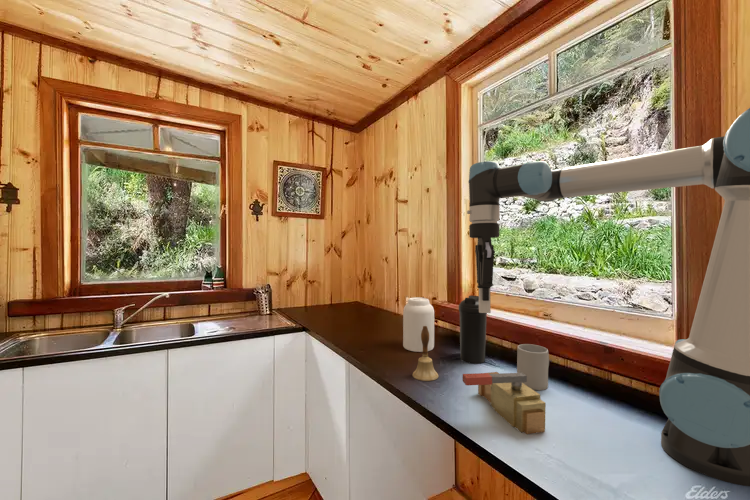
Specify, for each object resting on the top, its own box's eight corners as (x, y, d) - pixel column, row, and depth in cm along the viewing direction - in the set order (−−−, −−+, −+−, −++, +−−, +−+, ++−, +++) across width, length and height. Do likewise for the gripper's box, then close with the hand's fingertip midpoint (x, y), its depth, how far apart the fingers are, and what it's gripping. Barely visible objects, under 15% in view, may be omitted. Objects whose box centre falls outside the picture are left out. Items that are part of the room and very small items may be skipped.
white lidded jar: (426, 354, 125) (426, 302, 124) (397, 349, 131) (397, 299, 131) (438, 346, 135) (439, 297, 135) (411, 341, 142) (411, 295, 141)
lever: (521, 386, 82) (521, 371, 82) (527, 390, 80) (527, 375, 79) (462, 388, 81) (462, 373, 80) (466, 393, 78) (466, 377, 78)
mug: (536, 393, 93) (537, 354, 93) (510, 382, 101) (511, 346, 100) (560, 383, 100) (561, 347, 99) (534, 373, 107) (535, 340, 107)
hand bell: (407, 375, 106) (407, 326, 105) (423, 368, 111) (424, 322, 111) (427, 383, 100) (427, 331, 99) (443, 376, 105) (444, 326, 105)
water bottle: (490, 358, 121) (490, 296, 121) (483, 366, 113) (483, 300, 112) (463, 353, 127) (463, 293, 126) (454, 361, 118) (454, 297, 118)
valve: (549, 431, 75) (549, 400, 74) (522, 435, 73) (522, 404, 73) (498, 391, 94) (498, 367, 94) (476, 394, 93) (476, 369, 93)
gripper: (465, 224, 93) (466, 307, 94) (473, 221, 80) (474, 317, 81) (493, 224, 92) (493, 307, 93) (505, 220, 79) (505, 318, 80)
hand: (484, 312), depth 87 cm, fingers closed
